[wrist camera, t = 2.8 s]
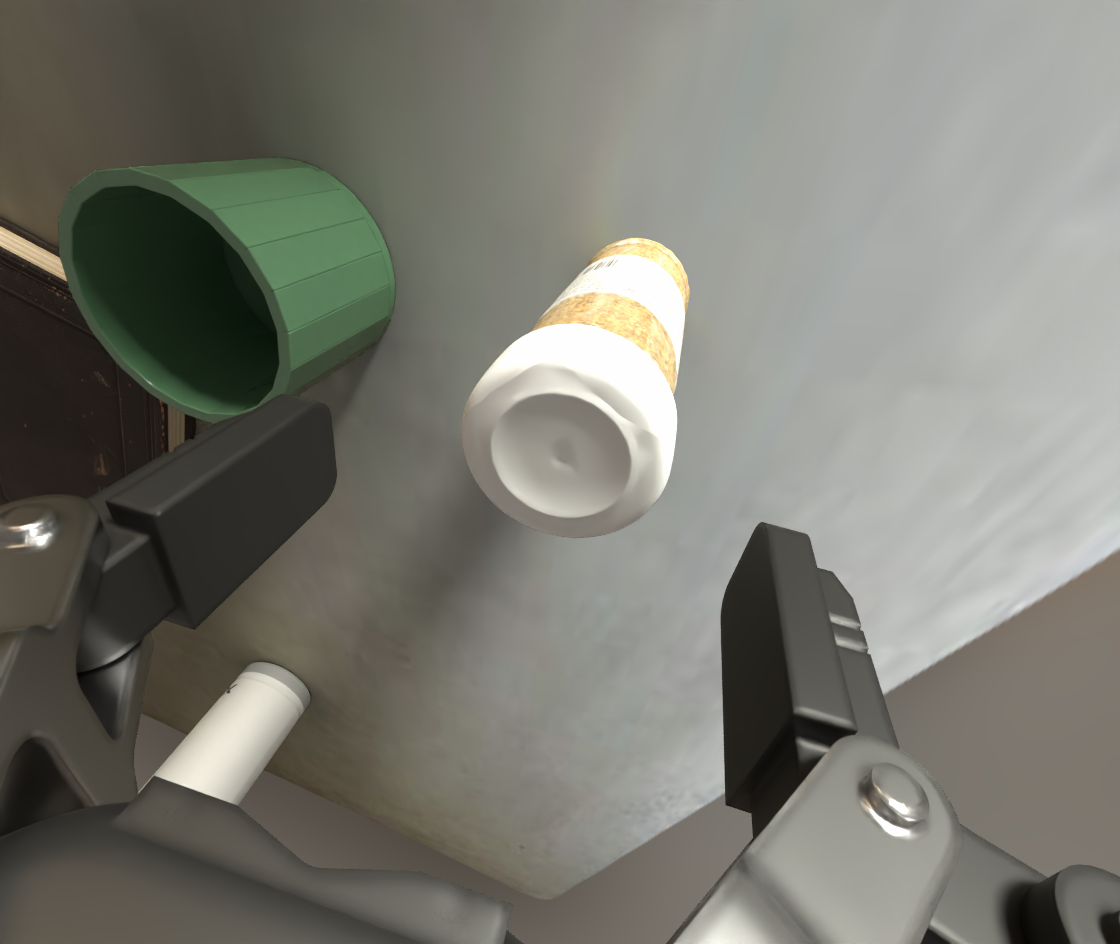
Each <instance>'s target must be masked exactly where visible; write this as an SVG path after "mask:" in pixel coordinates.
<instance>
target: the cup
mask: <svg viewBox="0 0 1120 944" xmlns="http://www.w3.org/2000/svg"><path fill="white" fill-rule="evenodd" d="M58 231H59V254H60V260H61V263H62V266H63V269H64V273H65V276H66V279H67V283H68V286H69V289H70V292H71V294H72V297H73V299H74V300H75V302H76V304H77V306H78V308H79V310H80V311H81V313H82V315H83V317H84V319H85V321H86V322H87V324H88V326H89V328H90V330H91V331H93V332H92V333H93V334H94V335H95V337H96V338H97V339H98V340H99V342H100V343H101V344H102V346H103V347H104V348H105V349H106V351H107V352H108V353H109V354H110V356H111V357H112V358H113V359H114V361H115V362H116V363H117V364H118V365H119V366H120V367H121V368H122V369H123V370H124V371H125V372H126V373H127V374H128V375H130V376H131V377H132V378H133V379H134V380H135V381H136V382H137V383H138V384H140V385H141V386H142V387H143V388H144V389H145V390H146V391H147V392H149V393H150V394H151V395H153V396H155V397H156V398H158V399H159V400H161V401H163V402H164V403H166V404H168V405H169V406H171V407H172V408H174V409H176V410H177V411H179V412H181V413H184V414H186V415H189V416H192V417H195V418H198V419H201V420H203V421H206V422H209V423H213V424H215V423H217V422H219V421H222V420H225V419H228V418H231V417H235V416H238V415H241V414H244V413H247V412H251V411H253V410H254V409H256V408H258V407H259V406H261V405H263V404H264V403H266V402H267V401H269V400H271V399H272V398H274V397H276V396H278V395H280V394H289V395H293V396H299V395H300V394H302V393H303V392H305V391H307V390H308V389H310V388H311V387H313V386H314V385H316V384H317V383H319V382H320V381H322V380H324V379H325V378H327V377H328V376H330V375H331V374H333V373H334V372H336V371H337V370H339V369H341V368H342V367H344V366H345V365H347V364H348V363H350V362H351V361H353V360H355V359H356V358H358V357H359V356H361V355H362V354H363V353H364V352H365V351H367V350H368V349H369V348H371V347H372V346H374V345H375V343H376V342H377V341H378V340H379V339H380V338H381V337H382V335H383V334H384V332H385V331H386V329H387V327H388V325H389V323H390V320H391V317H392V313H393V310H394V303H395V277H394V270H393V266H392V261H391V258H390V254H389V251H388V248H387V245H386V243H385V241H384V239H383V236H382V234H381V232H380V230H379V228H378V227H377V225H376V223H375V221H374V220H373V218H372V217H371V215H370V214H369V212H368V211H367V209H366V208H365V207H364V205H363V204H362V203H361V202H360V201H359V200H358V198H357V197H356V196H355V195H354V194H353V193H352V192H351V191H350V190H349V189H348V188H347V187H346V186H344V185H343V184H342V183H341V182H339V181H338V180H337V179H336V178H334V177H333V176H332V175H330V174H328V173H327V172H325V171H323V170H321V169H320V168H318V167H316V166H313V165H311V164H309V163H306V162H303V161H299V160H295V159H289V158H278V157H276V158H261V159H245V160H230V161H215V162H199V163H184V164H169V165H153V166H138V167H124V168H112V169H101V170H96V171H93V172H92V173H90V174H89V175H88V176H86V177H85V178H84V179H82V180H81V181H80V182H78V183H77V184H76V185H74V186H73V187H72V188H71V189H70V190H69V192H68V195H67V197H66V200H65V202H64V205H63V208H62V210H61V213H60V215H59V220H58Z"/></svg>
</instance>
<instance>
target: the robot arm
mask: <svg viewBox="0 0 1120 944" xmlns="http://www.w3.org/2000/svg"><path fill="white" fill-rule="evenodd" d="M336 478H337V469H336V459H335V449H334V439H333V429H332V419H331V413H330V410H329V408H328V407H327V406H326V405H325V404H323V403H319V402H316V401H312V400H308V399H304V398H301V397H297V396H293V395H289V394H280V395H278V396H276V397H274V398H272V399H271V400H269V401H267V402H266V403H264V404H263V405H261V406H259V407H258V408H256V409H254V410H253V411H251V412H247V413H244V414H241V415H238V416H235V417H231V418H228V419H225V420H222V421H219V422H217V423H215V424H214V425H212V426H210V427H209V428H207V429H205V430H204V431H202V432H200V433H198V434H197V435H195V436H194V439H193V440H192V439H188V440H187V441H185V442H183V443H181V444H180V445H178V446H176V447H175V448H174V450H173V452H169V451H168V452H166V453H165V454H163V455H161V456H159V457H158V458H156V459H154V460H153V461H151V462H149V463H148V464H146V465H144V466H142V467H141V468H139V469H137V470H136V471H134V472H132V473H131V474H129V475H127V476H125V477H124V478H122V479H120V480H119V481H117V482H115V483H114V484H112V485H110V486H108V487H107V488H105V489H103V490H102V491H100V492H98V493H97V494H95V495H93V496H92V497H90V498H88V499H84V498H81V497H78V496H72V495H59V494H55V495H42V496H35V497H30V498H25V499H20V500H17V501H13V502H10V503H7V504H4V505H1V506H0V944H523V943H522V942H521V941H520V940H518V939H517V938H516V937H515V936H514V935H512V934H511V933H510V932H509V931H507V927H508V923H509V919H510V915H511V911H512V907H513V904H510V903H507V902H505V901H502V900H499V899H496V898H493V897H491V896H488V895H485V894H482V893H479V892H477V891H474V890H471V889H468V888H466V887H463V886H460V885H457V884H455V883H452V882H449V881H446V880H443V879H440V878H438V877H435V876H432V875H430V874H427V873H424V872H421V871H402V870H401V871H400V870H366V869H328V868H316V867H312V866H310V865H307V864H306V863H304V862H303V861H302V860H300V859H299V858H298V857H297V856H296V855H294V854H293V853H292V852H291V851H290V850H289V849H287V848H286V847H285V846H284V845H283V844H282V843H281V842H279V841H278V840H277V839H276V838H275V837H274V836H272V835H271V834H270V833H269V832H268V831H267V830H265V829H264V828H263V827H262V826H261V825H260V824H258V823H257V822H256V821H255V820H254V819H253V818H251V817H250V816H249V815H248V814H247V813H246V812H244V811H243V810H242V809H241V808H240V807H238V806H237V805H235V804H232V803H229V802H227V801H224V800H221V799H218V798H215V797H213V796H210V795H207V794H204V793H202V792H199V791H196V790H193V789H190V788H188V787H185V786H182V785H179V784H177V783H174V782H171V781H168V780H165V779H163V778H160V777H157V776H153V777H152V778H151V779H150V781H149V782H148V783H147V784H146V785H145V786H144V788H143V789H142V790H141V791H140V792H139V793H138V788H137V782H136V776H135V771H134V749H135V743H136V738H137V732H138V726H139V721H140V715H141V711H142V705H143V700H144V695H145V689H146V684H147V679H148V673H149V668H150V662H151V657H152V652H153V644H154V641H153V637H152V634H151V632H150V631H152V630H153V629H154V628H155V627H156V626H157V625H158V624H159V623H161V622H162V621H163V620H166V621H169V622H172V623H175V624H178V625H181V626H184V627H187V628H190V629H193V630H195V629H196V628H197V627H198V626H199V625H200V624H201V623H202V622H203V621H204V620H205V619H206V618H207V617H208V616H209V615H210V614H211V613H212V612H213V611H214V610H215V609H216V608H217V607H218V606H219V605H220V604H222V603H223V602H224V601H225V600H226V599H227V598H228V597H229V596H230V595H231V594H232V593H233V592H234V591H235V590H236V589H237V588H238V587H239V586H240V585H241V584H242V583H243V582H244V581H245V580H246V579H247V578H248V577H249V576H250V575H252V574H253V573H254V572H255V571H256V570H257V569H258V568H259V567H260V566H261V565H262V564H263V563H264V562H265V561H266V560H267V559H268V558H269V557H270V556H271V555H272V554H273V553H274V552H275V551H276V550H277V549H278V548H279V547H280V546H282V545H283V544H284V543H285V542H286V541H287V540H288V539H289V538H290V537H291V536H292V535H293V534H294V533H295V532H296V531H297V530H298V529H299V528H300V527H301V526H302V525H303V524H304V523H305V522H306V521H307V520H308V519H309V518H311V517H312V516H313V515H314V514H315V513H316V512H317V511H318V510H319V509H320V508H321V507H322V506H323V505H324V504H325V503H326V502H327V500H328V499H329V497H330V496H331V494H332V492H333V489H334V487H335V483H336ZM860 627H861V623H860V620H859V617H858V614H857V610H856V607H855V604H854V601H853V598H852V597H851V595H850V594H849V593H848V592H847V590H846V589H845V588H844V586H843V585H842V584H841V582H840V581H839V580H838V578H837V577H836V576H835V574H834V573H833V572H831V571H827V570H824V569H820V568H817V565H816V561H815V557H814V553H813V549H812V545H811V541H810V538H809V536H808V535H807V534H805V533H801V532H797V531H794V530H790V529H786V528H782V527H779V526H775V525H771V524H767V523H764V522H761V523H759V524H758V525H757V527H756V528H755V530H754V532H753V534H752V536H751V538H750V540H749V542H748V544H747V546H746V548H745V550H744V552H743V554H742V556H741V558H740V560H739V563H738V565H737V567H736V569H735V571H734V573H733V575H732V577H731V579H730V581H729V583H728V585H727V588H726V591H725V594H724V598H723V603H722V608H721V651H722V689H723V726H724V764H725V798H726V799H725V800H726V805H727V806H730V807H733V808H737V809H739V810H743V811H746V812H749V813H752V828H753V839H752V840H751V841H750V842H749V843H748V844H747V845H746V847H745V848H744V849H743V850H742V852H741V853H740V854H739V855H738V856H737V858H736V859H735V860H734V861H733V863H732V864H731V865H730V866H729V868H728V869H727V870H726V871H725V872H724V874H723V875H722V876H721V878H719V880H718V881H717V882H716V883H715V885H714V886H713V887H712V888H711V890H710V891H709V892H708V893H707V894H706V896H705V897H704V898H703V899H702V901H701V902H700V903H699V904H698V905H697V907H696V908H695V909H694V910H693V912H692V913H691V914H690V915H689V916H688V918H687V919H686V920H685V921H684V922H683V924H682V925H681V926H680V927H679V929H678V930H677V931H676V932H675V933H674V935H673V936H672V937H671V938H670V940H669V941H668V942H667V943H666V944H1120V877H1119V876H1117V875H1115V874H1112V873H1110V872H1108V871H1105V870H1103V869H1100V868H1096V867H1093V866H1088V865H1072V866H1069V867H1067V868H1065V869H1063V870H1061V871H1060V872H1058V873H1056V874H1054V875H1052V876H1051V877H1049V878H1047V877H1046V876H1044V875H1043V874H1041V873H1039V872H1038V871H1036V870H1034V869H1033V868H1031V867H1029V866H1028V865H1026V864H1024V863H1023V862H1021V861H1019V860H1018V859H1016V858H1015V857H1013V856H1011V855H1009V854H1008V853H1006V852H1005V851H1003V850H1001V849H1000V848H998V847H996V846H995V845H993V844H991V843H989V842H988V841H987V840H985V839H983V838H981V837H980V836H978V835H977V834H975V833H974V832H972V831H971V830H969V829H968V828H966V827H965V826H963V825H962V824H960V823H959V820H958V817H957V814H956V812H955V810H954V808H953V806H952V804H951V802H950V801H949V799H948V797H947V796H946V794H945V793H944V791H943V790H942V789H941V787H940V786H939V785H938V783H937V782H936V781H935V779H933V777H932V776H931V775H930V774H929V773H928V772H927V771H926V770H925V769H924V768H923V767H922V766H921V765H920V764H919V763H918V762H916V761H915V760H914V759H913V758H911V757H910V756H909V755H907V754H906V753H904V752H903V751H901V750H900V748H899V745H898V742H897V739H896V735H895V732H894V729H893V726H892V723H891V719H890V716H889V713H888V710H887V707H886V703H885V700H884V697H883V694H882V690H881V687H880V684H879V681H878V678H877V674H876V671H875V668H874V665H873V662H872V658H871V655H870V654H867V651H868V646H867V642H866V639H865V636H864V633H863V631H861V630H860Z"/></svg>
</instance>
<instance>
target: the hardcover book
mask: <svg viewBox="0 0 1120 944" xmlns="http://www.w3.org/2000/svg"><path fill="white" fill-rule="evenodd" d="M92 332H93V331H91V330H90V328H89V326H88V324H87V322H86V321H85V319H84V317H83V315H82V313H81V311H80V310H79V308H78V306H77V304H76V302H75V300H74V299H73V297H72V294H71V292H70V289H69V286H68V283H67V279H66V276H65V273H64V269H63V266H62V263H61V260H60V254H59V249H57V248H55V247H54V246H52V245H50V244H48V243H46V242H44V241H42V240H40V239H39V238H37V237H35V236H33V235H31V234H29V233H27V232H25V231H24V230H22V229H20V228H18V227H16V226H14V225H12V224H10V223H9V222H7V221H5V220H3V219H1V218H0V506H1V505H4V504H7V503H10V502H13V501H17V500H20V499H25V498H30V497H35V496H42V495H55V494H59V495H72V496H78V497H81V498H84V499H88V498H90V497H92V496H93V495H95V494H97V493H98V492H100V491H102V490H103V489H105V488H107V487H108V486H110V485H112V484H114V483H115V482H117V481H119V480H120V479H122V478H124V477H125V476H127V475H129V474H131V473H132V472H134V471H136V470H137V469H139V468H141V467H142V466H144V465H146V464H148V463H149V462H151V461H153V460H154V459H156V458H158V457H159V456H161V455H163V454H165V453H166V452H168V451H169V452H173V450H174V448H175V447H176V446H178V445H180V444H181V443H183V442H185V441H187V440H188V439H192V440H193V439H194V436H195V417H192V416H189V415H186V414H184V413H181V412H179V411H177V410H176V409H174V408H172V407H171V406H169V405H168V404H166V403H164V402H163V401H161V400H159V399H158V398H156V397H155V396H153V395H151V394H150V393H149V392H147V391H146V390H145V389H144V388H143V387H142V386H141V385H140V384H138V383H137V382H136V381H135V380H134V379H133V378H132V377H131V376H130V375H128V374H127V373H126V372H125V371H124V370H123V369H122V368H121V367H120V366H119V365H118V364H117V363H116V362H115V361H114V359H113V358H112V357H111V356H110V354H109V353H108V352H107V351H106V349H105V348H104V347H103V346H102V344H101V343H100V342H99V340H98V339H97V338H96V337H95V335H94V334H93V333H92Z"/></svg>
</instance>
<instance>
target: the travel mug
mask: <svg viewBox="0 0 1120 944" xmlns="http://www.w3.org/2000/svg"><path fill="white" fill-rule="evenodd" d="M309 703H310V694H309V691H308V689H307V688H306V686H305V685H304V683H303V682H302V681H301V680H300V679H299V678H298V677H296V676H295V675H294V674H292V673H291V672H289V671H288V670H286V669H284V668H282V667H280V666H277V665H275V664H271V663H266V662H256V663H252V664H250V665H248V666H247V667H246V668H245V670H244V671H243V672H242V673H241V674H240V675H239V676H238V678H237V679H236V681H235V682H233V683H232V685H231V686H230V687H229V688H228V689H227V690H226V692H225V693H224V694H223V695H222V696H221V697H220V698H219V700H218V701H217V702H216V703H215V704H214V705H213V707H212V708H211V709H210V710H209V711H208V712H207V713H206V715H205V716H204V717H203V718H202V719H201V720H200V722H199V723H198V724H197V725H196V726H195V727H194V729H193V730H192V731H191V732H190V733H189V734H188V735H187V737H186V738H185V739H184V740H183V741H182V742H181V744H180V745H179V746H178V747H177V748H176V749H175V751H174V752H173V753H172V754H171V755H170V756H169V757H168V759H167V760H166V761H165V762H164V763H163V764H162V766H161V767H160V768H159V769H158V770H157V771H156V772H155V774H154V775H153V776H157V777H160V778H163V779H165V780H168V781H171V782H174V783H177V784H179V785H182V786H185V787H188V788H190V789H193V790H196V791H199V792H202V793H204V794H207V795H210V796H213V797H215V798H218V799H221V800H224V801H227V802H229V803H232V804H235V805H237V806H238V805H239V804H240V802H241V800H242V799H243V798H244V797H245V795H246V794H247V792H248V791H249V789H250V788H251V787H252V785H253V784H254V782H255V781H256V779H257V778H258V777H259V775H260V774H261V772H262V771H263V769H264V768H265V767H266V765H267V764H268V762H269V761H270V759H271V758H272V757H273V755H274V754H275V752H276V751H277V749H278V748H279V747H280V745H281V744H282V742H283V741H284V739H285V738H286V737H287V735H288V734H289V732H290V731H291V729H292V728H293V727H294V725H295V724H296V722H297V720H298V719H299V718H300V717H301V715H302V714H303V712H304V711H305V709H306V708H307V707H308V705H309ZM153 776H152V777H153ZM152 777H151V778H152ZM151 778H150V779H151ZM150 779H149V781H150ZM149 781H148V782H149ZM148 782H147V783H148ZM147 783H146V784H147ZM146 784H145V785H146ZM145 785H144V786H145ZM144 786H143V787H142V789H143V788H144ZM142 789H141V790H142ZM141 790H140V791H141ZM140 791H139V792H140ZM139 792H138V793H139Z"/></svg>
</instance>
